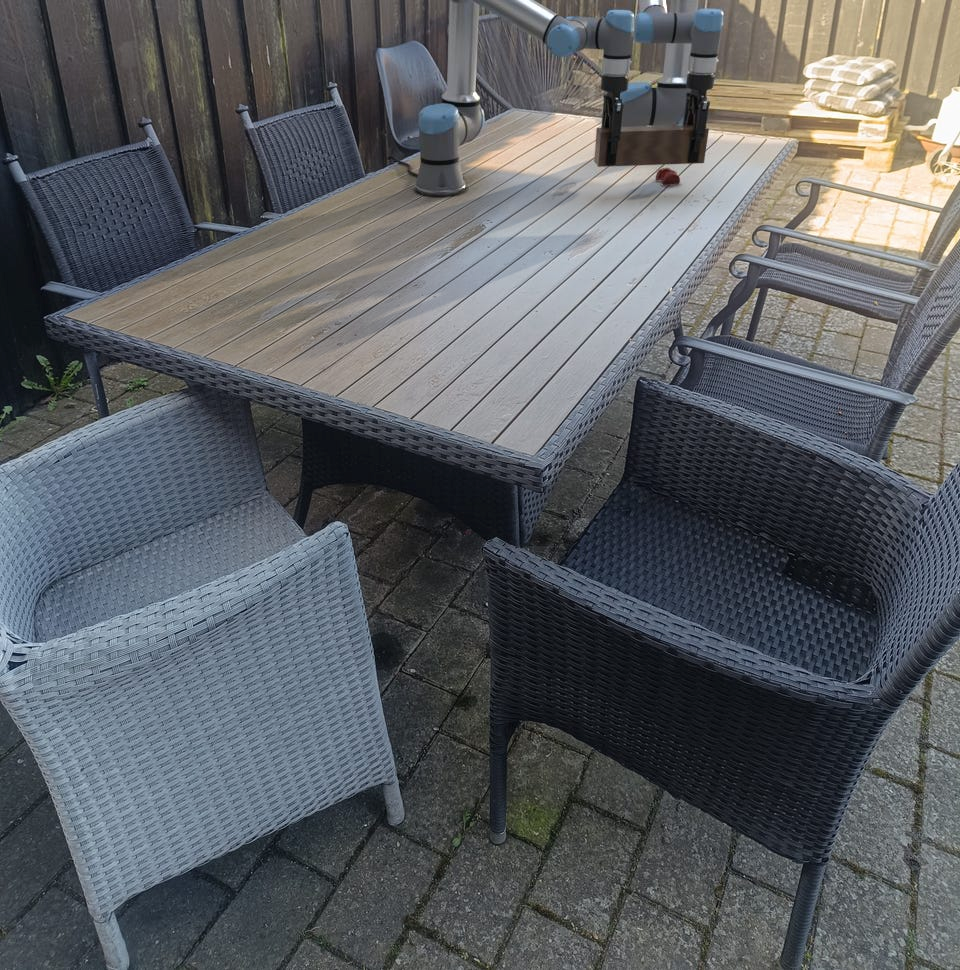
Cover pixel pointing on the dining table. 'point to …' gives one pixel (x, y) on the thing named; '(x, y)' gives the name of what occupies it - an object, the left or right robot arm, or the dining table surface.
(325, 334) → the dining table surface
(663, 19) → the right robot arm
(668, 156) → the bar
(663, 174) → the dark red rounded lump
